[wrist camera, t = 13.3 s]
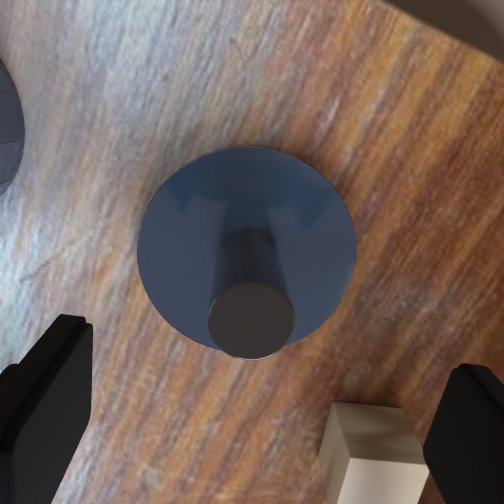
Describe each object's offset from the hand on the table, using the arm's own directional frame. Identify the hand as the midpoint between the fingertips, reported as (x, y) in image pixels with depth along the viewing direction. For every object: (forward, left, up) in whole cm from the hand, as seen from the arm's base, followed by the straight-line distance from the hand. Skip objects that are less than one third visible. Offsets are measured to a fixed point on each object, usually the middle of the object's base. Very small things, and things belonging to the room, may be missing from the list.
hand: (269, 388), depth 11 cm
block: (-2, +14, -12) cm, 19 cm away
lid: (+1, 0, -12) cm, 12 cm away
